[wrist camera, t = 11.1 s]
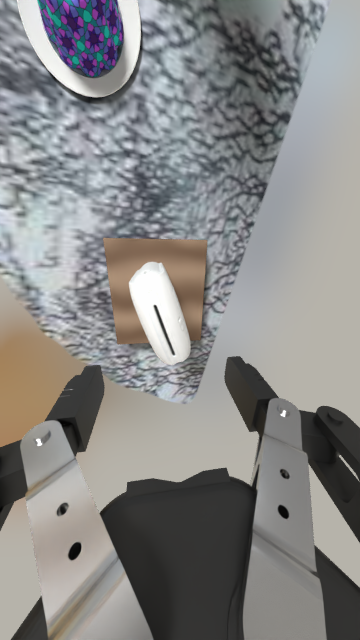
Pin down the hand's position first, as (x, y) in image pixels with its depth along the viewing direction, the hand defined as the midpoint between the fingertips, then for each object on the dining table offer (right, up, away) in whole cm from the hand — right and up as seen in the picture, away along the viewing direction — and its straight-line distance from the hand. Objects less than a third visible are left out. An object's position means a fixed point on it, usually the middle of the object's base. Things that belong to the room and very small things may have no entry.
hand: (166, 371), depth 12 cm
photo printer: (-2, +7, +16) cm, 18 cm away
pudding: (-9, +35, +8) cm, 37 cm away
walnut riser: (-3, +8, +20) cm, 22 cm away
